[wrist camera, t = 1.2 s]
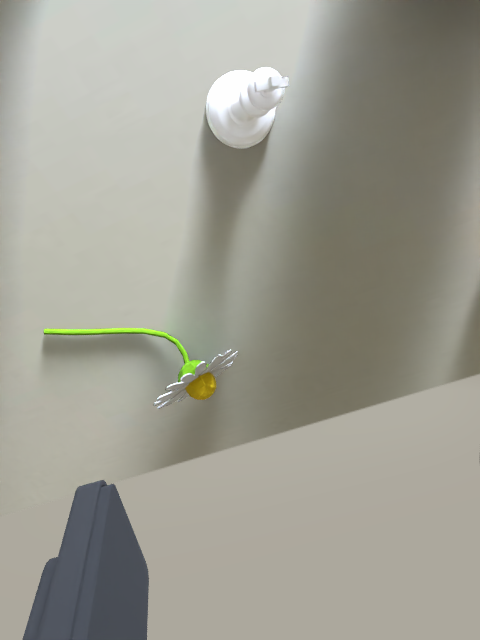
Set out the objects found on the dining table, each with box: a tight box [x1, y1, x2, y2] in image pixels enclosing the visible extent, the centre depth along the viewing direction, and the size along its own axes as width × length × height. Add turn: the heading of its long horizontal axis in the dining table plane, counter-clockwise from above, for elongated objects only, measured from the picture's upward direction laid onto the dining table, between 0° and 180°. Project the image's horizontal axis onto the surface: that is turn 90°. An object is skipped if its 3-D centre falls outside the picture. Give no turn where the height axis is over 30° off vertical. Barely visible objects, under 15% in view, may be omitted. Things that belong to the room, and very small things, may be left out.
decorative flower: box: [44, 328, 238, 409], centre depth 32 cm, size 8×6×15 cm
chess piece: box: [206, 67, 289, 148], centre depth 24 cm, size 5×5×10 cm
